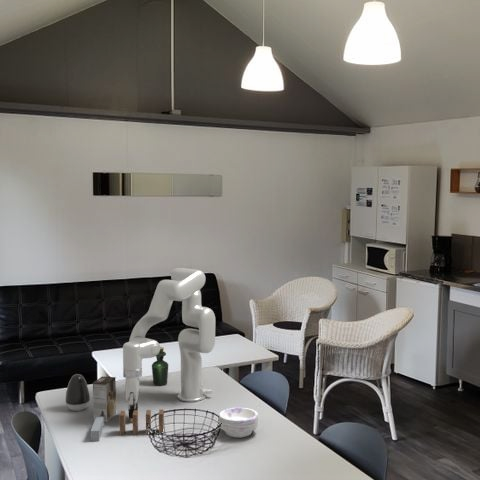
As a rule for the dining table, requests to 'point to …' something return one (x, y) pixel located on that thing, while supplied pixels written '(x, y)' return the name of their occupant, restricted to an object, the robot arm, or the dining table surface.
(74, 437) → the dining table surface
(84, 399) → the dark grey egg shape
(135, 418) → the domino
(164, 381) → the potion bottle
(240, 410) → the white floral bowl
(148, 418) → the domino
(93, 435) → the end block
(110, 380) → the coffee box
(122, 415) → the domino
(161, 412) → the domino
